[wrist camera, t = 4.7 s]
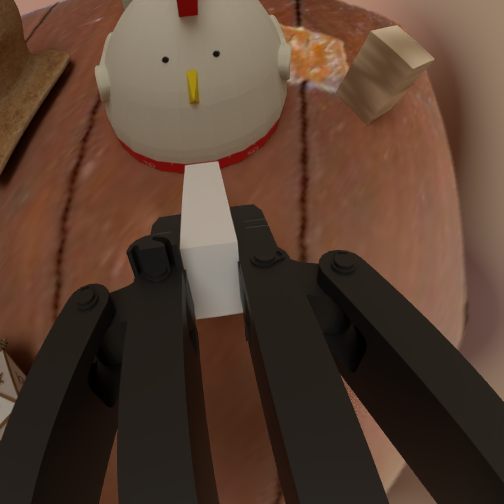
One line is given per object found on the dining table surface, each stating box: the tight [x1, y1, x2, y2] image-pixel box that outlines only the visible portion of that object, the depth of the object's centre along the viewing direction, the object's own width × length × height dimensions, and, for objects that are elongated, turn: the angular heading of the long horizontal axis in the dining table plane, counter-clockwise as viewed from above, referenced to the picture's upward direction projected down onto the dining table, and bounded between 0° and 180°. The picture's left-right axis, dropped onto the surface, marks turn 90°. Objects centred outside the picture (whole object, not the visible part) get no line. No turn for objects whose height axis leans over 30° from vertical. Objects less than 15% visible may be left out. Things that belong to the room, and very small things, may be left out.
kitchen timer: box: [95, 0, 291, 174], centre depth 13 cm, size 14×14×15 cm
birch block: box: [336, 25, 434, 125], centre depth 19 cm, size 4×4×8 cm
